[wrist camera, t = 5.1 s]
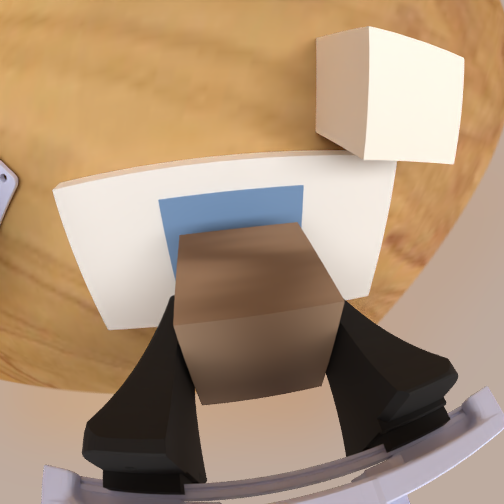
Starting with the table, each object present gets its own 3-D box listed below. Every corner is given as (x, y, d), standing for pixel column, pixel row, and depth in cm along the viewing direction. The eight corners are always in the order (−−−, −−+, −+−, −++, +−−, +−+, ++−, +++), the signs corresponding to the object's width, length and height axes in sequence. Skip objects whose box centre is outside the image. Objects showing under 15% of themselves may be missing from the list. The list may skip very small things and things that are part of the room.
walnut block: (197, 319, 15) (202, 405, 11) (179, 235, 12) (172, 325, 8) (292, 306, 15) (321, 385, 11) (297, 222, 12) (344, 301, 8)
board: (110, 319, 18) (108, 331, 17) (60, 182, 13) (51, 190, 12) (362, 286, 20) (368, 296, 19) (387, 151, 15) (398, 157, 14)
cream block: (314, 131, 14) (363, 160, 10) (315, 38, 11) (368, 25, 7) (394, 135, 14) (453, 164, 10) (398, 53, 11) (464, 58, 7)
